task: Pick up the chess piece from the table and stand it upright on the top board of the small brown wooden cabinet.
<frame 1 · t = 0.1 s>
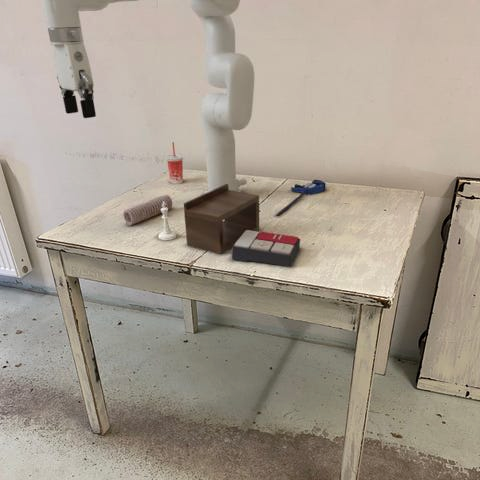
hand: (80, 115, 123), 31 cm above the table, tool pointing down, fingers open, 9 cm apart
grey and red box: (266, 255, 123), on the table
beverage cup: (176, 182, 178), on the table
chess piece: (167, 237, 135), on the table
brown wooden cabinet: (224, 237, 133), on the table
bar clamp: (296, 200, 158), on the table
coil: (149, 217, 148), on the table
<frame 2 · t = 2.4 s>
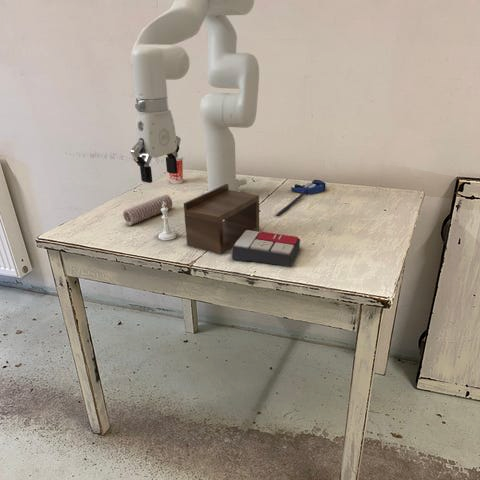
hand: (160, 177, 125), 17 cm above the table, tool pointing down, fingers open, 9 cm apart
nothing on the table moved.
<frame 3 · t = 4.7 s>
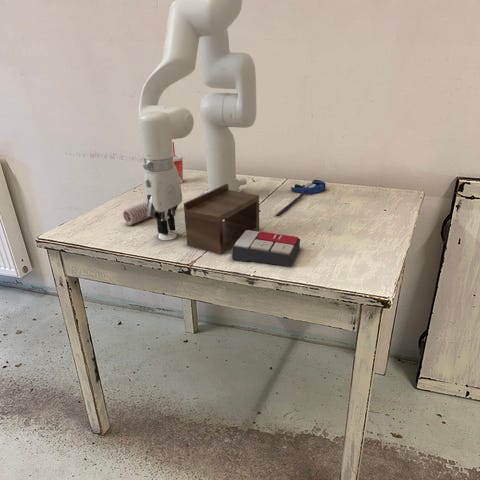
hand: (166, 231, 134), 2 cm above the table, tool pointing down, fingers closed on chess piece
chess piece: (167, 237, 135), on the table, touching gripper
everything else where it was.
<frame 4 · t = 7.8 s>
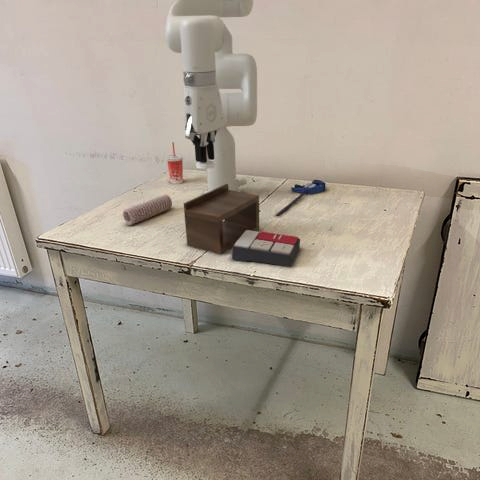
hand: (205, 159, 122), 21 cm above the table, tool pointing down, fingers closed on chess piece
chess piece: (205, 167, 123), point 19 cm above the table, touching gripper
everything else where it was.
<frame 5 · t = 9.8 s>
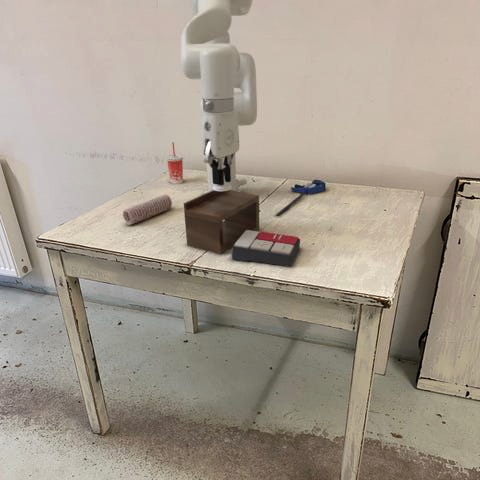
hand: (221, 182, 125), 15 cm above the table, tool pointing down, fingers closed on chess piece
chess piece: (222, 189, 126), point 13 cm above the table, touching gripper
everything else where it was.
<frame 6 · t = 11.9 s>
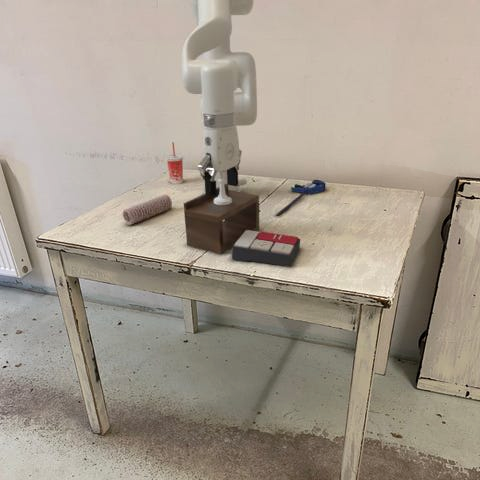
hand: (222, 190, 126), 13 cm above the table, tool pointing down, fingers open, 9 cm apart
chess piece: (222, 202, 128), point 10 cm above the table, touching brown wooden cabinet
everything else where it was.
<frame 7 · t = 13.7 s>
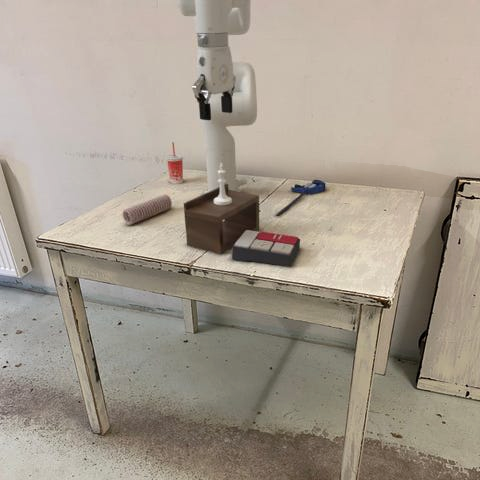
hand: (216, 115, 128), 29 cm above the table, tool pointing down, fingers open, 9 cm apart
nothing on the table moved.
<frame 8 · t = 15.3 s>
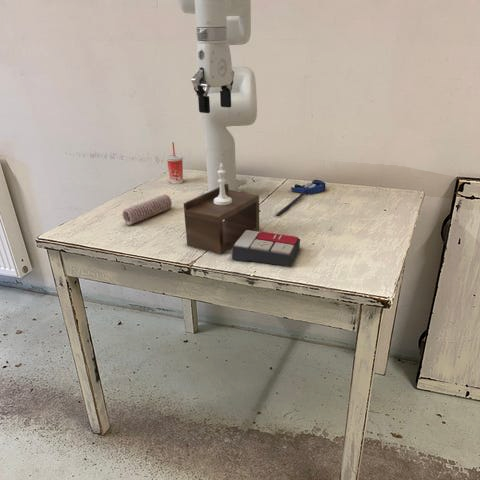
hand: (215, 109, 130), 30 cm above the table, tool pointing down, fingers open, 9 cm apart
nothing on the table moved.
at the end: chess piece inside the target area on the brown wooden cabinet (0.1 cm from its centre), point 9.8 cm above the brown wooden cabinet's base; chess piece tilted 0°; the gripper is holding nothing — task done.
